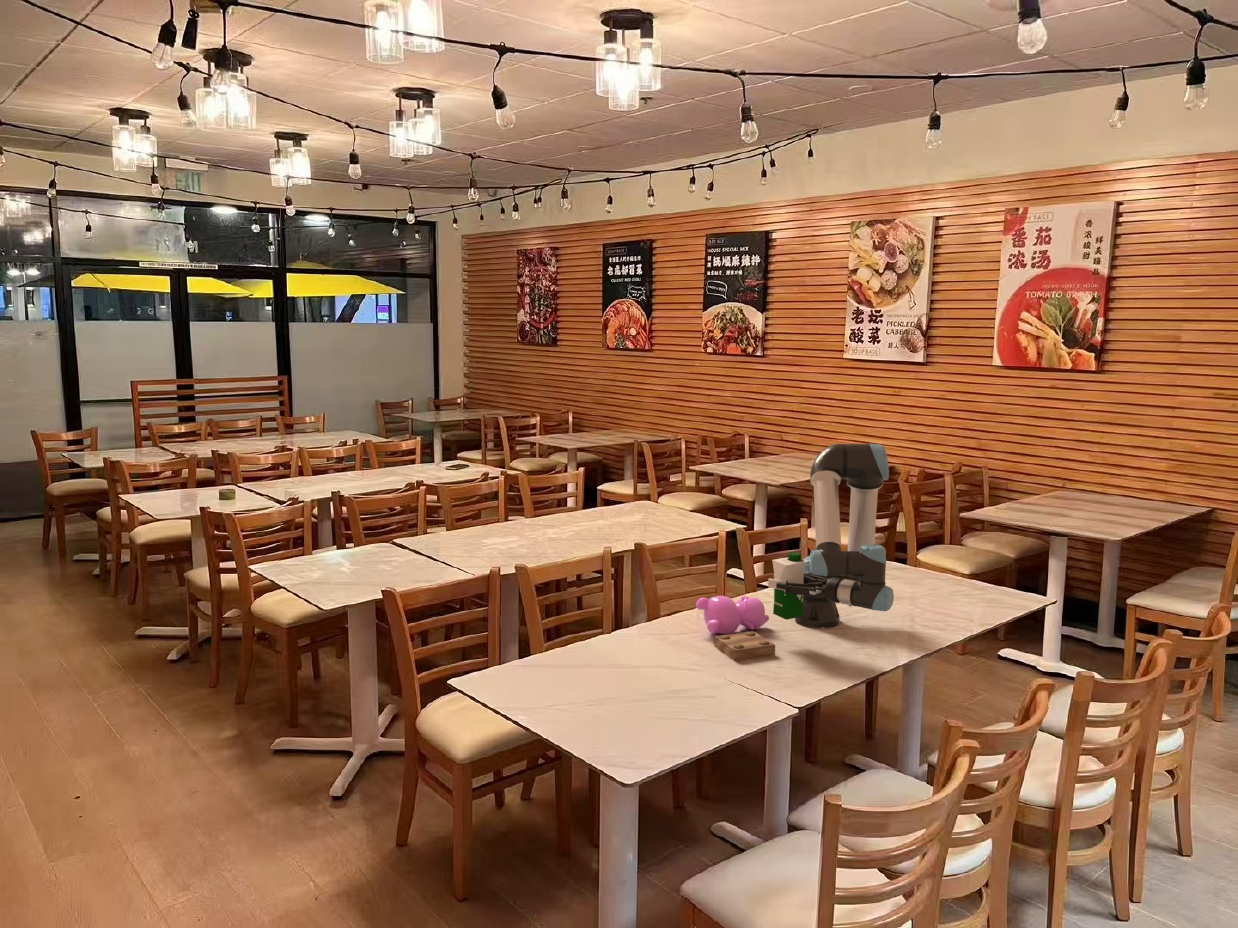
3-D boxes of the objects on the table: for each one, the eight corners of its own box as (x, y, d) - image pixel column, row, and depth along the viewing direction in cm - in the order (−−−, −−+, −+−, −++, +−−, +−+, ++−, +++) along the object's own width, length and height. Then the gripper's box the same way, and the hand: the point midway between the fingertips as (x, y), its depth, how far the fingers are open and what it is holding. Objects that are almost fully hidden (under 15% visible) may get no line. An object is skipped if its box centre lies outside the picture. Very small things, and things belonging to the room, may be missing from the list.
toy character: (745, 613, 319) (685, 611, 308) (760, 585, 312) (700, 583, 301) (764, 645, 307) (702, 645, 296) (781, 618, 301) (718, 616, 290)
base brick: (714, 648, 289) (714, 635, 288) (753, 642, 294) (753, 630, 293) (734, 662, 276) (735, 649, 275) (774, 657, 281) (775, 643, 280)
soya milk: (808, 616, 287) (809, 555, 284) (784, 621, 284) (785, 559, 281) (791, 609, 295) (792, 549, 292) (768, 613, 291) (769, 553, 289)
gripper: (825, 611, 269) (759, 598, 283) (855, 594, 286) (791, 583, 300) (826, 587, 268) (759, 575, 282) (856, 571, 285) (791, 561, 298)
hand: (776, 579), depth 291 cm, fingers closed on soya milk, 9 cm apart
